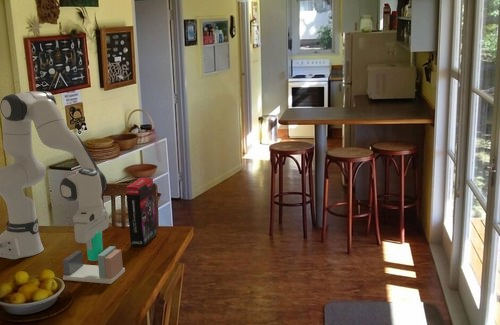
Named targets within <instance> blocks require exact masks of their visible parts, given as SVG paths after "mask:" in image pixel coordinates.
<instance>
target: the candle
mask: <svg viewBox="0 0 500 325" xmlns="http://www.w3.org/2000/svg"><path fill="white" fill-rule="evenodd" d="M91 243H92V245H93V249H91V250H88V248H87V247H86V252H87V259H88V260H89V261H92V262H93V261H94V262H95V261H98V255H99V254H100V253H102V252H103V251H104V245H103V231H102V232H101V231H100V232H99V233H97V234H95V237H93V238H92V241H91Z"/></svg>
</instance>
